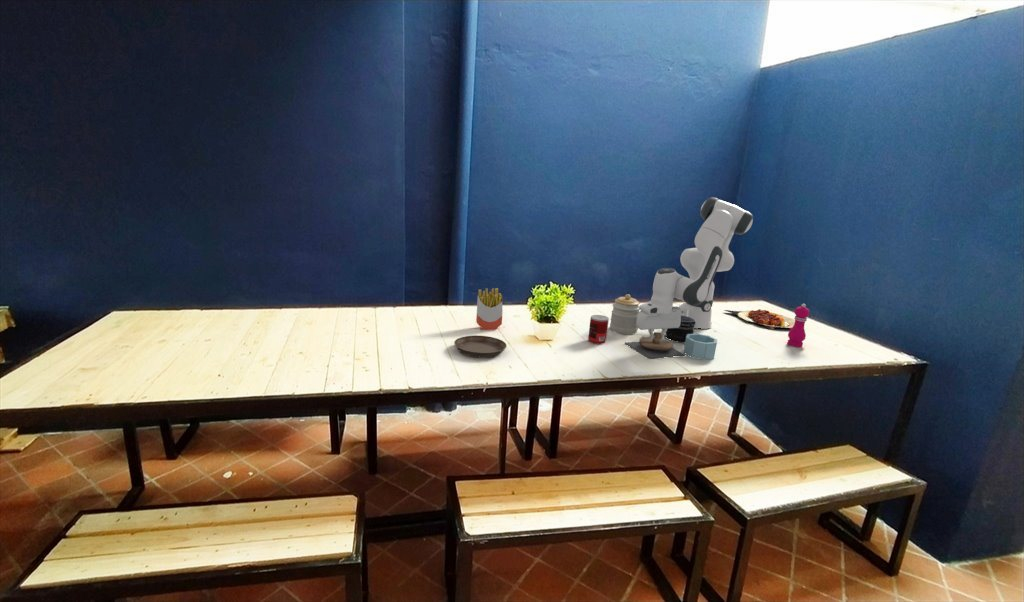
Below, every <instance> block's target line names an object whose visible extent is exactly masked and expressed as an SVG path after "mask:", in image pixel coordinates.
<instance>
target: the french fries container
mask: <svg viewBox="0 0 1024 602" xmlns="http://www.w3.org/2000/svg"><path fill="white" fill-rule="evenodd" d="M476 303H477V304H476V317H475V318H476V321H475V323H476V324H477V325H478V327H480V328H481V329H483V331H489V330H492V331H495V330H497V329H499V328H500V326H502V325H503V324H502V323H503V295H502V294H501V293H499V288H498V287H497V288H492V289H491V291H488V288H485V290H483V291H482V289H478V295H477V302H476Z"/></svg>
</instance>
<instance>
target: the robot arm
mask: <svg viewBox="0 0 1024 602" xmlns="http://www.w3.org/2000/svg"><path fill="white" fill-rule="evenodd" d="M699 212H700V213H699V214H700V217H701V218H702V220H704V222H703V223H702V225H701V226H700V228H699V230H698V231H697V233H696V234H695V237H694V245H695V247H691V248H685V249H684V250H683V251H682V253H681V255H680V259H679V260H680V264H681V266H682V267H683V268H684V270H685V271H687V273H688V276H689V277H687V276H684V275H681V274H680V273H679V272H677V271H676V269H675V268H671V267H663V268H660V269H658V270H656V273H655V276H654V280H653V285H652V296H651V300H648V301H647V302H644V303H642V304H639V306H640V308H639V309H640V310H639V313H638V316H637V321H636V326H637V328H638V329H639V330H641V331H642V330H643V331H645V330H648V333H649V337H650V339H655V335H654V332H655V330H661V331H660V333H661V337H660V338H662V339H665V337H664V336H665V335H666V332H667V329H668V328H679V326H680V323H681V316H687V317H690V318H692V319H694V320H695V322H696V324H695V325H694V329H698V328H701V329H700V330H707V329H708V328H709V329H711V328H712V325H711V324H712V313H713V312H712V307H713V305H714V300H713V298H714V291H715V283H714V281H713V280H714V277H715V275H716V274H717V272H718V273H721V272H726V271H730V270H731V269H732V267H733V266H734V264H735V257H734V254H733V252H732V251H730V249H729V246H730V243H731V241H732V238H733V236H734V234H735V235H744V234H745V233H747V232H748V231H749V230H750V229H751V227H752V225H753V220H754V216H753V214H752V213H751V212H750V211H748V210H745V209H743V208H741V207H739V206H738V205H736V204H734V203H733V204H732V203H730V202H727V201H724V200H722V199H719V198H717V197H713V196H711V197H708V198H707V199H706V200H705V201H704V202H703V203H702V205H701V208H700V211H699ZM675 298H676V299H678V300H679V301H683V303H682V304H680V305H676V306H673V305H674V299H675Z"/></svg>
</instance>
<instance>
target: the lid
mask: <svg viewBox="0 0 1024 602" xmlns="http://www.w3.org/2000/svg"><path fill="white" fill-rule="evenodd" d="M653 334H654V335H655V339H650V336H643V337H641V338H639V339H638V342H639V344H640V345H642V346H644V347H646V348H650V349H654V350H670V349H672V348H674V347H673V346H674V344H673V342H672V341H671V340H669V339H665V338H660V337H661V332H658V331H656V332H655V331H654V332H653Z"/></svg>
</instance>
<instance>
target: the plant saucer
mask: <svg viewBox="0 0 1024 602" xmlns="http://www.w3.org/2000/svg"><path fill="white" fill-rule="evenodd" d="M453 343H454V344H453V345H454V346H455V347H456V349H457V350H458V351H459V352H460V353H461V354H463V355H466V356H467V357H471V358H478V359H479V358H480V359H481V358H482V359H484V358H485V359H487V358H492V357H496V356H498V355H501V354H502V353H503V352H504V350H505V349H506V348H507V345H508V344H507V343H506V342H505V341H503V340H502V339H500V338H496V337H493V336H487V335H477V334H476V335H465V336H460V337H458V338H455V340H454V342H453Z"/></svg>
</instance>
